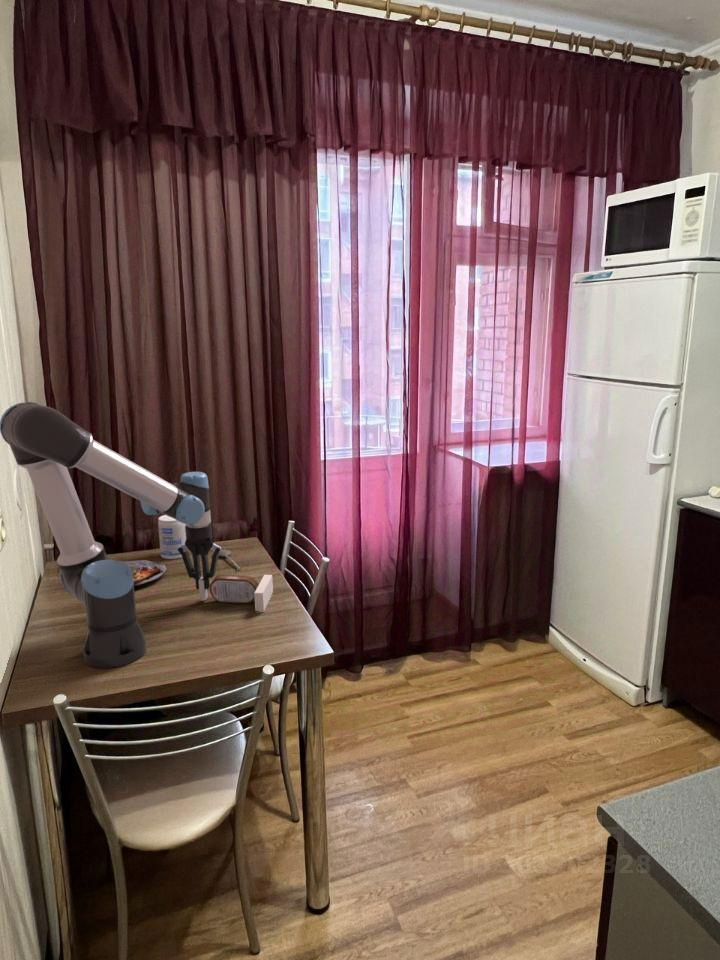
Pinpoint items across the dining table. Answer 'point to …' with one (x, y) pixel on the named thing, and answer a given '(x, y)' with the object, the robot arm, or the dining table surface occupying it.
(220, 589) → the tin
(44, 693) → the dining table surface
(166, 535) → the supplement tub
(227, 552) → the soupspoon
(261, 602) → the board
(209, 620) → the dining table surface
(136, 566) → the food plate
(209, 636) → the dining table surface
